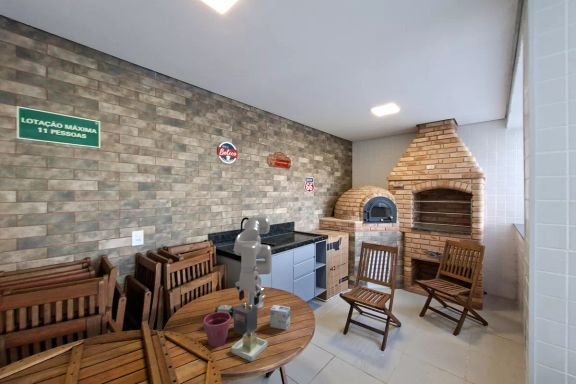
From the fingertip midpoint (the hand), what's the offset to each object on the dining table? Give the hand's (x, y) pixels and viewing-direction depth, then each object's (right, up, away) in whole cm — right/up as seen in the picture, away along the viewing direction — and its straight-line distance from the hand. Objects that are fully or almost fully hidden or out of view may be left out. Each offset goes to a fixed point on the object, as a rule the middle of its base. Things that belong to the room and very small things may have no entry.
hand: (248, 301), depth 126 cm
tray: (+1, -24, 0) cm, 24 cm away
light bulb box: (+15, -24, +21) cm, 35 cm away
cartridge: (+1, -24, 0) cm, 24 cm away
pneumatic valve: (-18, -24, +22) cm, 37 cm away
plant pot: (-18, -24, +6) cm, 31 cm away
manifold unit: (-5, -24, +17) cm, 29 cm away
